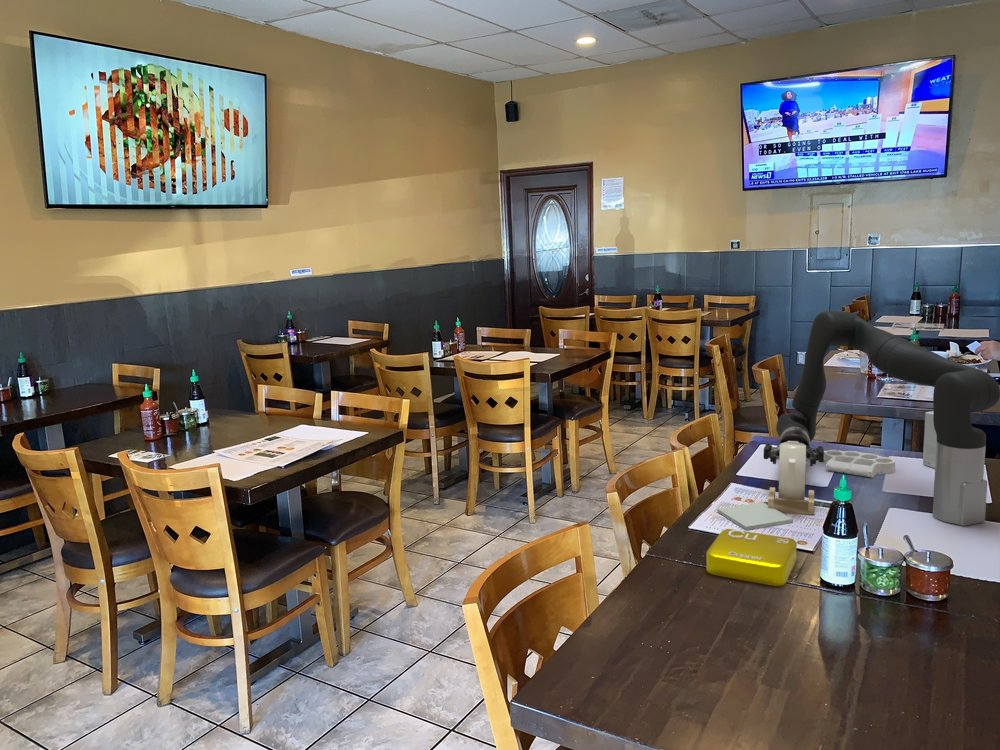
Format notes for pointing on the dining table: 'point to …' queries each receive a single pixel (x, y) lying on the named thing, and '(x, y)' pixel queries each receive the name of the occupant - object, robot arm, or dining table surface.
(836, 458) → the knuckle duster
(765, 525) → the plate
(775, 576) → the element tile
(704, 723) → the dining table surface
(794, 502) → the holder
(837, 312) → the robot arm
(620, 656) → the dining table surface
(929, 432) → the skincare box
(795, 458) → the jug
